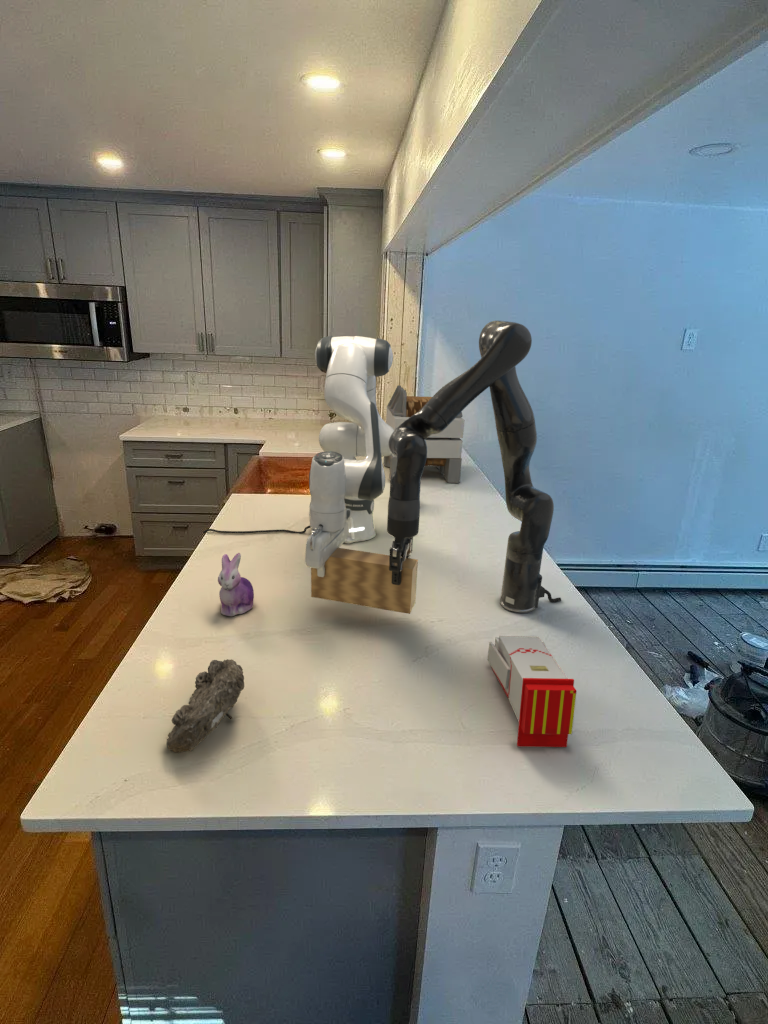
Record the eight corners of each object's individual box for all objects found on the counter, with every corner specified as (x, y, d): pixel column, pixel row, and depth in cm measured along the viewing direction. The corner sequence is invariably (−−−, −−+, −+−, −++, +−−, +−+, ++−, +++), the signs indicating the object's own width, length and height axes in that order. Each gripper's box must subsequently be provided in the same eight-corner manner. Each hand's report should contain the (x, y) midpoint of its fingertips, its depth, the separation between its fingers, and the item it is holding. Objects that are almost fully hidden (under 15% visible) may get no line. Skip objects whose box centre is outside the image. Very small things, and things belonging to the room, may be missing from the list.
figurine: (223, 621, 140) (219, 566, 135) (214, 602, 149) (210, 550, 144) (260, 613, 144) (258, 559, 139) (250, 595, 153) (247, 544, 148)
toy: (536, 619, 129) (586, 686, 99) (531, 673, 131) (578, 754, 102) (483, 618, 128) (517, 685, 99) (479, 672, 131) (511, 753, 102)
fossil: (192, 660, 117) (244, 628, 112) (224, 691, 120) (276, 661, 115) (142, 746, 98) (202, 712, 93) (182, 779, 101) (242, 748, 96)
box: (311, 596, 144) (310, 553, 140) (319, 586, 149) (319, 544, 145) (410, 614, 138) (412, 569, 134) (415, 602, 143) (418, 559, 139)
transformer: (382, 463, 289) (386, 382, 275) (445, 464, 293) (451, 384, 279) (390, 482, 257) (394, 392, 243) (460, 483, 261) (468, 394, 247)
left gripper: (323, 535, 129) (323, 589, 134) (353, 507, 147) (351, 556, 152) (298, 531, 130) (298, 585, 135) (330, 504, 149) (329, 552, 154)
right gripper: (412, 526, 126) (407, 593, 131) (425, 506, 139) (421, 568, 144) (379, 522, 127) (376, 588, 133) (396, 502, 140) (392, 563, 146)
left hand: (327, 569), depth 144 cm, fingers closed on box, 6 cm apart
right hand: (400, 577), depth 139 cm, fingers open, 6 cm apart
